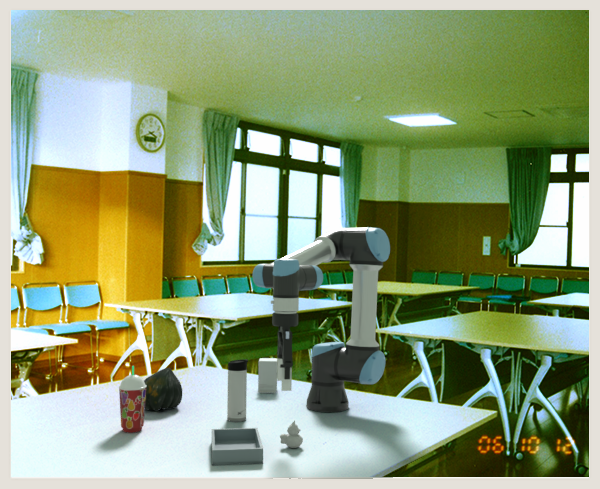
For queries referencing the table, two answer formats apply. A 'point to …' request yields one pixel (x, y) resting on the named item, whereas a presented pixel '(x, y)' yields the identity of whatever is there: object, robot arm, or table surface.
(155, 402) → the squash
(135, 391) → the smoothie
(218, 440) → the bin
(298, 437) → the white animal figurine
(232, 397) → the travel mug
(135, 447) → the table surface
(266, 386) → the supplement box
